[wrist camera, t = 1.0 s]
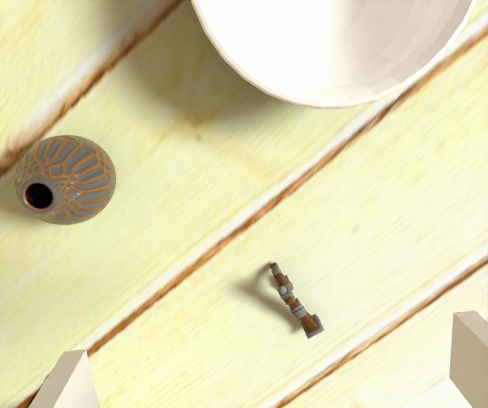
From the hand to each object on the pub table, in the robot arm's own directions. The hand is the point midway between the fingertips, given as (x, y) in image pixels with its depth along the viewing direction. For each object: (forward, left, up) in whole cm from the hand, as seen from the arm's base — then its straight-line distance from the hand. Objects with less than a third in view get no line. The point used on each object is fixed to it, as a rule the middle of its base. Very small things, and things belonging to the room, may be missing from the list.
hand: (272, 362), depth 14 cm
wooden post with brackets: (+10, +4, -23) cm, 25 cm away
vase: (-3, -14, -23) cm, 27 cm away
